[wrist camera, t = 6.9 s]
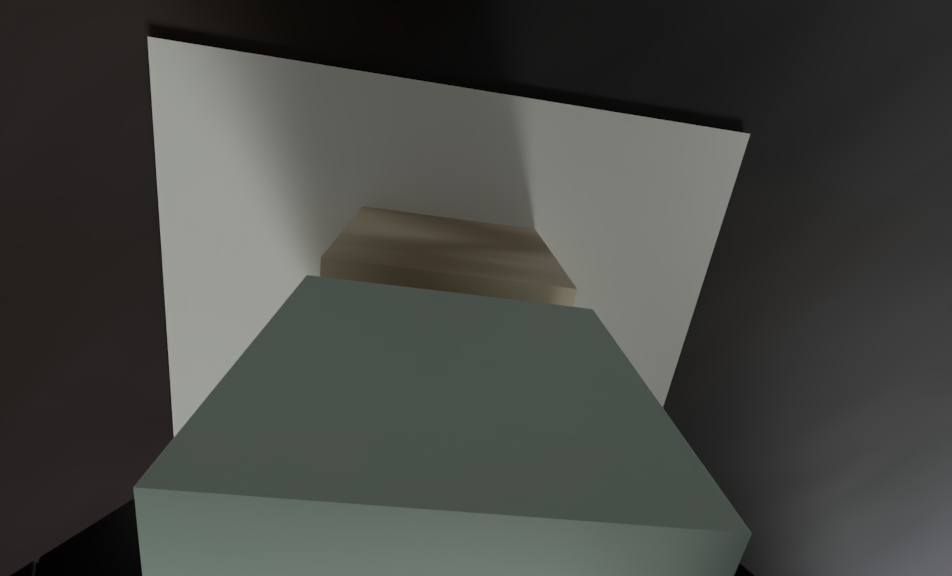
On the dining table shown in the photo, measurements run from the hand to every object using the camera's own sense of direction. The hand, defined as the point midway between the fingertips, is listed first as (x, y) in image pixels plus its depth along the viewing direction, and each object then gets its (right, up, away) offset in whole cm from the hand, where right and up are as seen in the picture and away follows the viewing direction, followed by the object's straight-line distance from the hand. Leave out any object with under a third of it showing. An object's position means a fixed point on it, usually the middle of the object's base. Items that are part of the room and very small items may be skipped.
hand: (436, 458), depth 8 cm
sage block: (0, +1, +1) cm, 1 cm away
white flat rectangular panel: (0, +3, +7) cm, 8 cm away
